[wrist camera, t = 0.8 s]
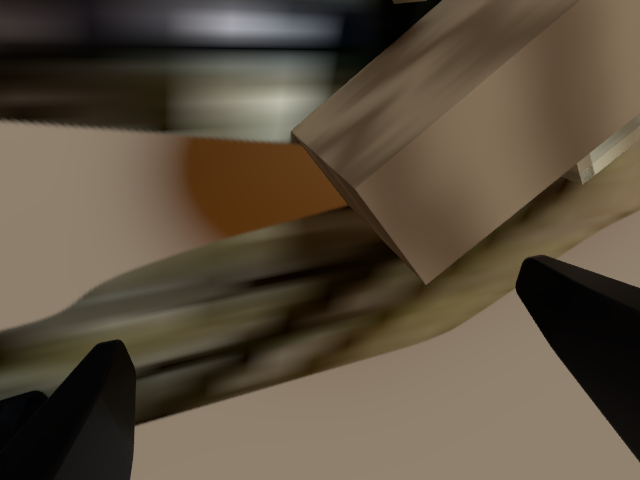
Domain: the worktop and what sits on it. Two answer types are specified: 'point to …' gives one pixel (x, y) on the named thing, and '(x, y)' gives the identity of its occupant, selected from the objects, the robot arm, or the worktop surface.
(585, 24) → the walnut block
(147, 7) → the worktop surface
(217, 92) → the worktop surface
